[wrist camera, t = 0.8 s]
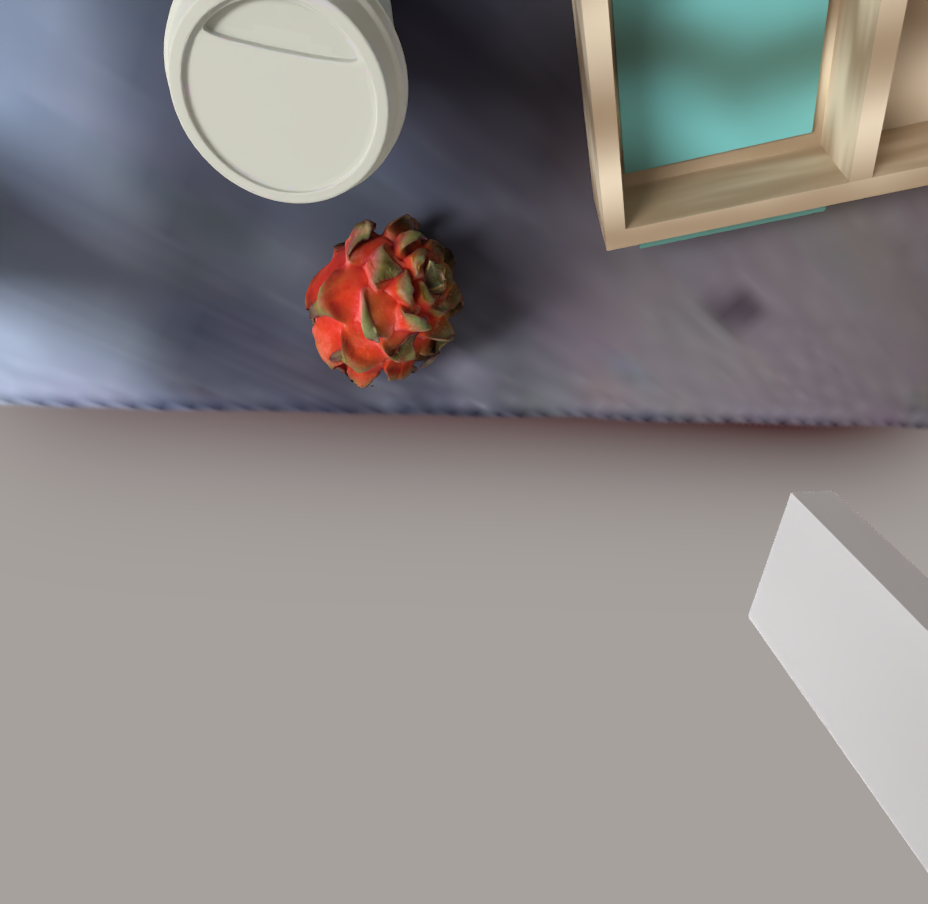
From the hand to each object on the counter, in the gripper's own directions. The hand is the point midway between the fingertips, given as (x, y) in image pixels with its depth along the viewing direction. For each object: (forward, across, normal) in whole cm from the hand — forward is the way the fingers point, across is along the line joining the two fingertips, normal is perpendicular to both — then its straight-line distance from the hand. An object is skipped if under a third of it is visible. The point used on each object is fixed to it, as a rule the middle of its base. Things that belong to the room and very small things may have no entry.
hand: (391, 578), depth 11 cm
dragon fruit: (+35, +2, -5) cm, 35 cm away
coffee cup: (+30, -1, +9) cm, 32 cm away
